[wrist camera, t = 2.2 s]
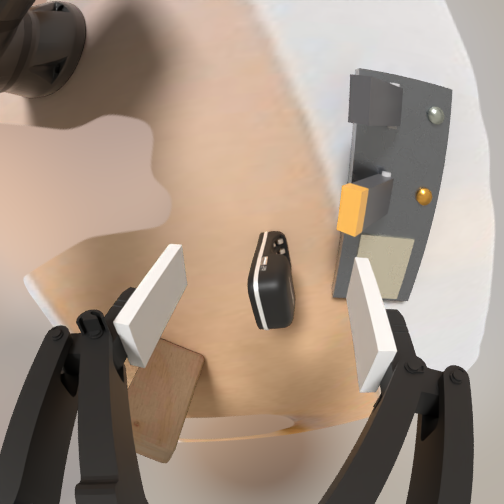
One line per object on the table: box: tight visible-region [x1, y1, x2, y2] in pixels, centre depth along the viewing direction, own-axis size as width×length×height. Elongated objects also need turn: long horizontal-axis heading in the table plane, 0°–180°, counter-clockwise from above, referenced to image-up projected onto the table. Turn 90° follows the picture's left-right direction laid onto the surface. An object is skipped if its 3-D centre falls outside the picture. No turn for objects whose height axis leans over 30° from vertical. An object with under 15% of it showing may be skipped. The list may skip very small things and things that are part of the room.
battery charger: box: [248, 231, 295, 330], centre depth 33 cm, size 7×4×11 cm, turn 12°
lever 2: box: [337, 171, 394, 237], centre depth 27 cm, size 2×5×8 cm
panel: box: [332, 68, 452, 301], centre depth 31 cm, size 11×28×2 cm, turn 0°
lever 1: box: [348, 74, 403, 129], centre depth 22 cm, size 2×5×8 cm
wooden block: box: [128, 338, 204, 463], centre depth 44 cm, size 10×10×20 cm
